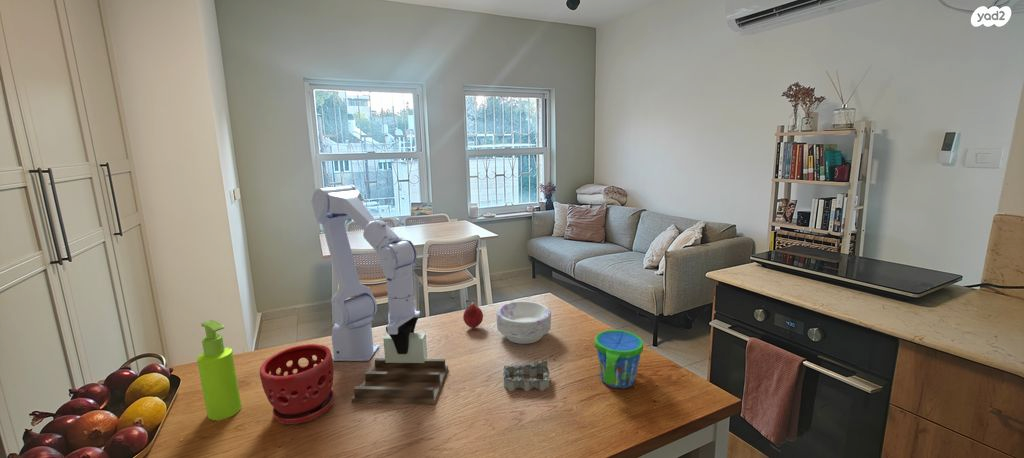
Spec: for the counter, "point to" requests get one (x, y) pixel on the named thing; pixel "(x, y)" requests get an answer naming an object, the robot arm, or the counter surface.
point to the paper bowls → (523, 321)
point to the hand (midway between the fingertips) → (404, 349)
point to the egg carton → (531, 370)
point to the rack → (402, 382)
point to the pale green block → (415, 349)
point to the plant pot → (299, 383)
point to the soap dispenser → (218, 374)
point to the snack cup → (618, 357)
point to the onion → (473, 316)
